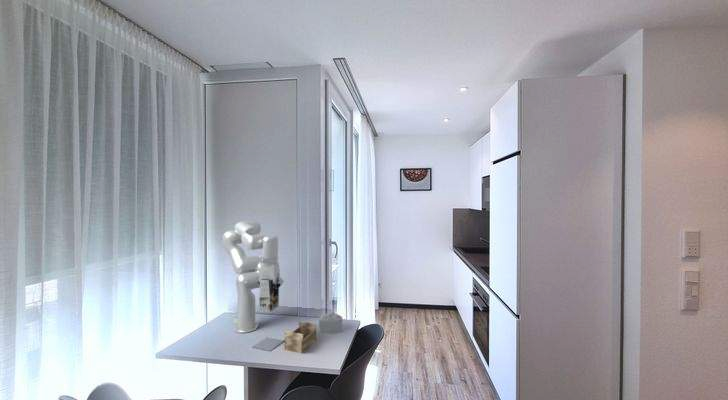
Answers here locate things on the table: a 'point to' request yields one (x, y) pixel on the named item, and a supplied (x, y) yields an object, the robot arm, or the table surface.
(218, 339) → the table surface
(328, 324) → the lumpy-topped squat cylinder
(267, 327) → the table surface
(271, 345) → the mat
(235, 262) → the robot arm
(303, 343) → the carton
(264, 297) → the coffee box
